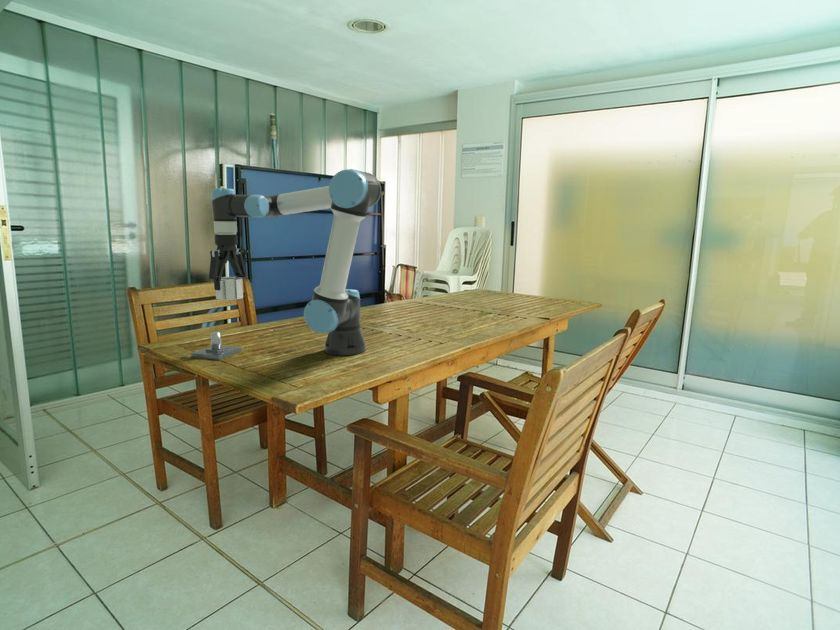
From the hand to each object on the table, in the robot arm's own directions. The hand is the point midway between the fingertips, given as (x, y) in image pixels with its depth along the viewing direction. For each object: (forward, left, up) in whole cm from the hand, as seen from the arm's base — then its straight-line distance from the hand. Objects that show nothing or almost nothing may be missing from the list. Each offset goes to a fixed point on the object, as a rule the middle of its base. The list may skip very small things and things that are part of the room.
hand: (229, 297), depth 178 cm
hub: (0, 0, 0) cm, 0 cm away
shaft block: (+4, +4, -20) cm, 21 cm away
